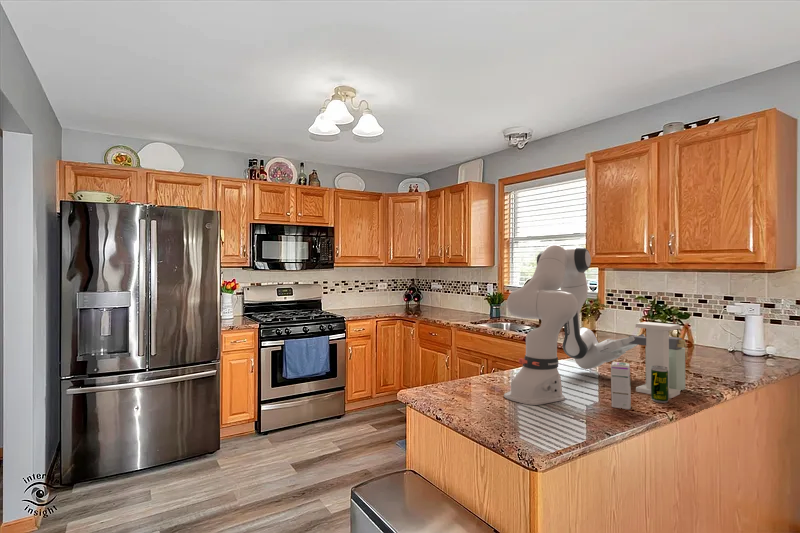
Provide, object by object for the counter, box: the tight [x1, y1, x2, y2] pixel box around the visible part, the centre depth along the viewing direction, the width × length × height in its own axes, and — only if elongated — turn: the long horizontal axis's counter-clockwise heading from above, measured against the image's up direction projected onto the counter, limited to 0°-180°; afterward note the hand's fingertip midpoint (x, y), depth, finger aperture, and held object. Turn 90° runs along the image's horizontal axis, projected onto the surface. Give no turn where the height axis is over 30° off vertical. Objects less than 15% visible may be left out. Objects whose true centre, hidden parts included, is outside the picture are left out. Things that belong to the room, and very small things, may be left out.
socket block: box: [645, 346, 686, 392], centre depth 172 cm, size 9×11×16 cm
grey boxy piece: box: [628, 335, 688, 350], centre depth 174 cm, size 20×6×4 cm, turn 39°
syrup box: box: [610, 361, 632, 410], centre depth 148 cm, size 6×6×14 cm
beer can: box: [650, 366, 670, 404], centre depth 154 cm, size 5×5×12 cm
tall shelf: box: [635, 321, 681, 399], centre depth 165 cm, size 9×12×26 cm
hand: (639, 336), depth 179 cm, fingers open, 8 cm apart
